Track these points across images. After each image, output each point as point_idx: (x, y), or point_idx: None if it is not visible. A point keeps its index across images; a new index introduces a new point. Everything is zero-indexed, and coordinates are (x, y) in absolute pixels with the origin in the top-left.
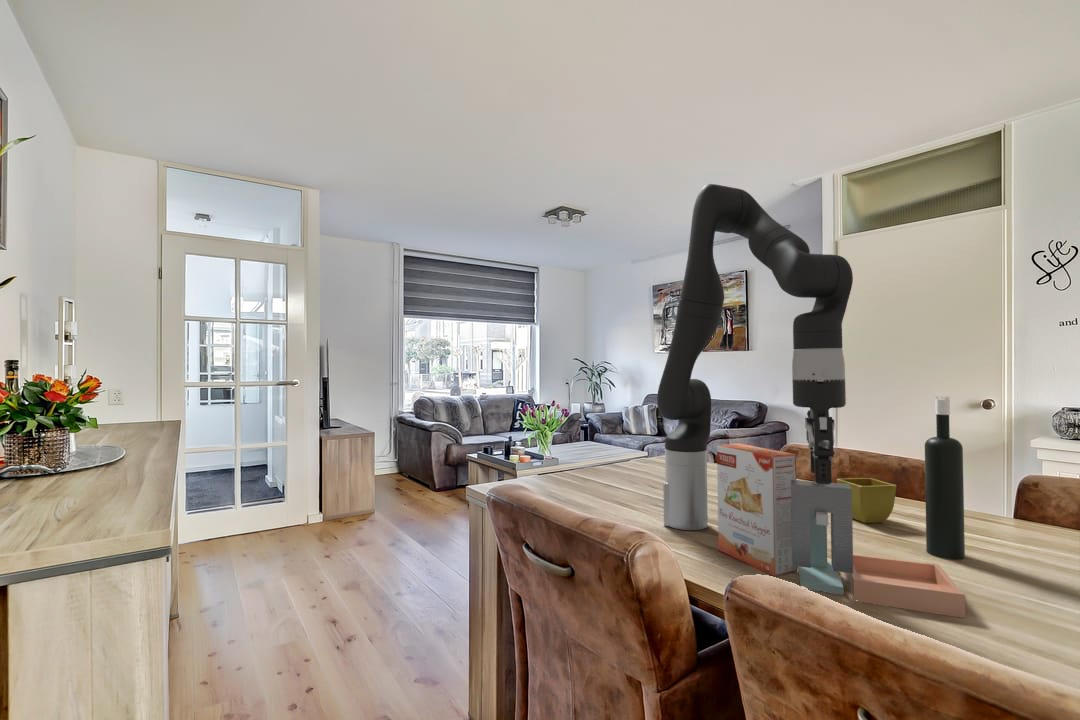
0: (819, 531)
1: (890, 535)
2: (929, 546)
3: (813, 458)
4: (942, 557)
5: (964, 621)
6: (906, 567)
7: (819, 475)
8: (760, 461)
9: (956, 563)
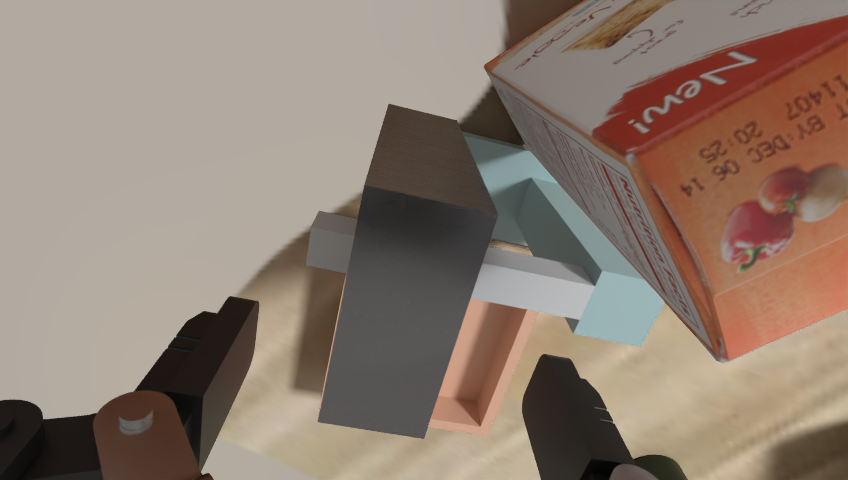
0: (546, 248)
1: (781, 436)
2: (658, 469)
3: (565, 426)
4: None
5: (312, 370)
6: (493, 379)
7: (181, 333)
8: (727, 64)
9: None
